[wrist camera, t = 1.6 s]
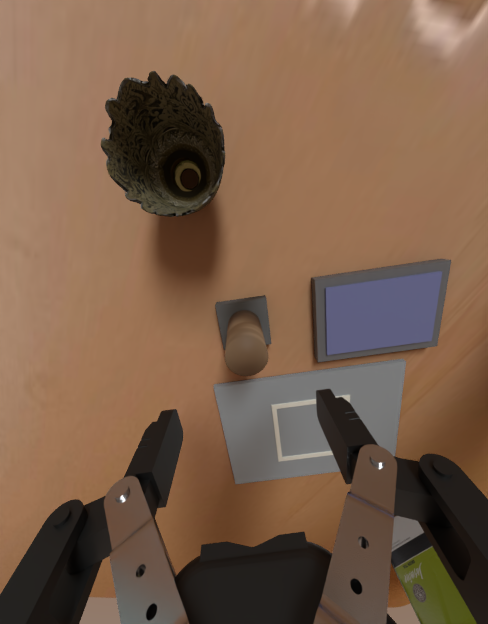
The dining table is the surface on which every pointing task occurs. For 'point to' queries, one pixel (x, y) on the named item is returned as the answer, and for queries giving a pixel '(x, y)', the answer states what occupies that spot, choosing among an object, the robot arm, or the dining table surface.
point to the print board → (303, 418)
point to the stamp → (244, 334)
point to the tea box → (425, 577)
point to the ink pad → (378, 309)
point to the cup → (163, 145)
